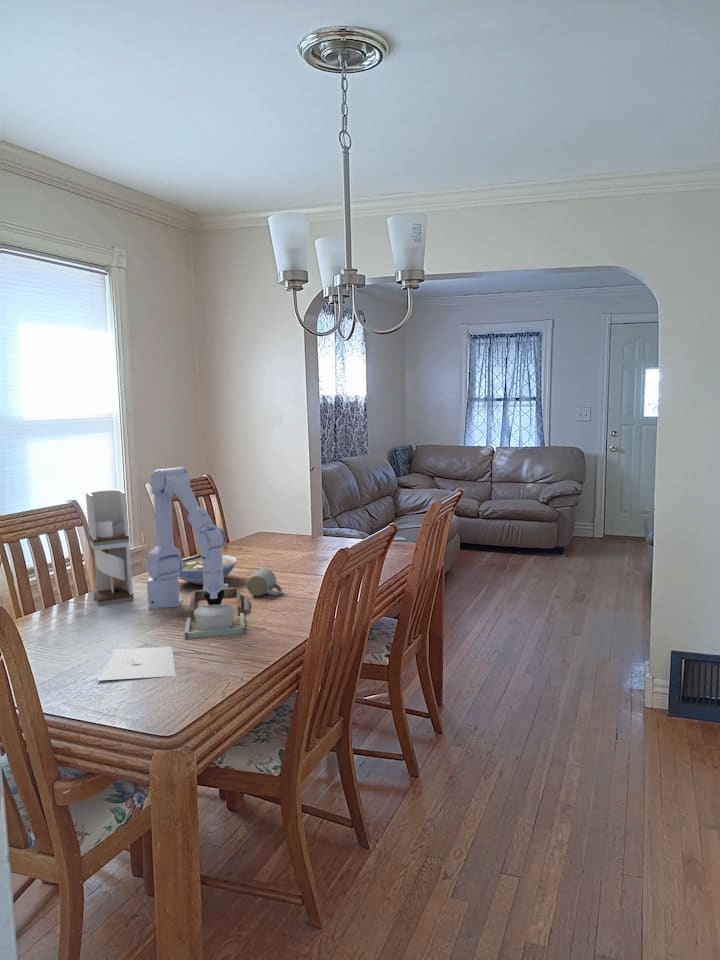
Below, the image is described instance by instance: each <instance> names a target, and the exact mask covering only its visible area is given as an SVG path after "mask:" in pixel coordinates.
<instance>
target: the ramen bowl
mask: <svg viewBox="0 0 720 960" xmlns="http://www.w3.org/2000/svg"><path fill="white" fill-rule="evenodd" d="M181 558H182V557H181ZM182 560H183V568H182V571H181V572H180V575H178V578H179V579H181V580H182V581H185V582H187V583H191V584H194V585H198V586H204V583H203V565H202V556H201V555H200V554H199V555H193V556H188V557H183V558H182ZM222 560H223V579H225V578H226V577H227V576H228V575H229V574H230V573H231V572H232V570H233V569H234V568H235V566H236V564H237V561H238V559H237V558H236V557H235V556H232V555H227V554H226V555H225V554H224V555H223V554H222Z"/></svg>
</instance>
